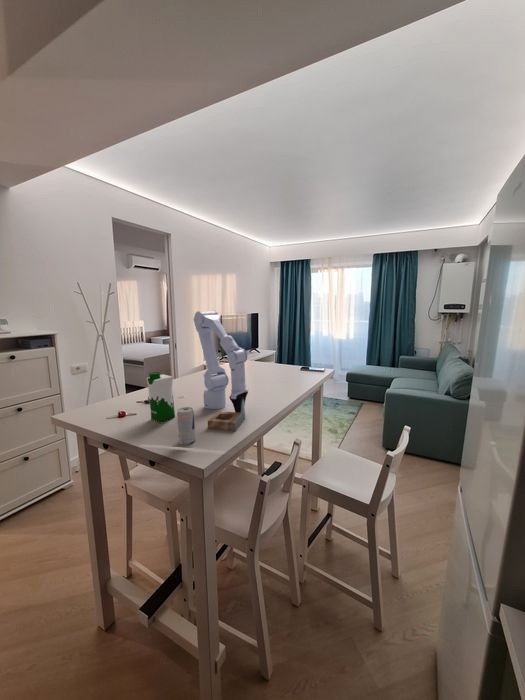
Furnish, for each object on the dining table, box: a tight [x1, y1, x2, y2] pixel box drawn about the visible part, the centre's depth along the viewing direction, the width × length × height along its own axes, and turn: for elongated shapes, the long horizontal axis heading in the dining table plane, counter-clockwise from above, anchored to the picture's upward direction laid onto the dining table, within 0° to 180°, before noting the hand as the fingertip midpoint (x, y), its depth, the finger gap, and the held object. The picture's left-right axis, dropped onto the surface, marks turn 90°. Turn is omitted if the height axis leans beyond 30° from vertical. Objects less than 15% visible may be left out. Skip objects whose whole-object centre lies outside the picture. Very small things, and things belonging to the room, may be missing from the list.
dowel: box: [240, 399, 246, 413], centre depth 126 cm, size 4×4×7 cm
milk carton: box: [145, 371, 176, 424], centre depth 124 cm, size 9×9×20 cm
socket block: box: [207, 410, 241, 431], centre depth 116 cm, size 10×10×3 cm
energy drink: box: [176, 406, 197, 446], centre depth 102 cm, size 5×5×12 cm
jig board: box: [232, 411, 246, 433], centre depth 117 cm, size 20×12×4 cm, turn 76°
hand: (239, 410), depth 126 cm, fingers closed on dowel, 4 cm apart
